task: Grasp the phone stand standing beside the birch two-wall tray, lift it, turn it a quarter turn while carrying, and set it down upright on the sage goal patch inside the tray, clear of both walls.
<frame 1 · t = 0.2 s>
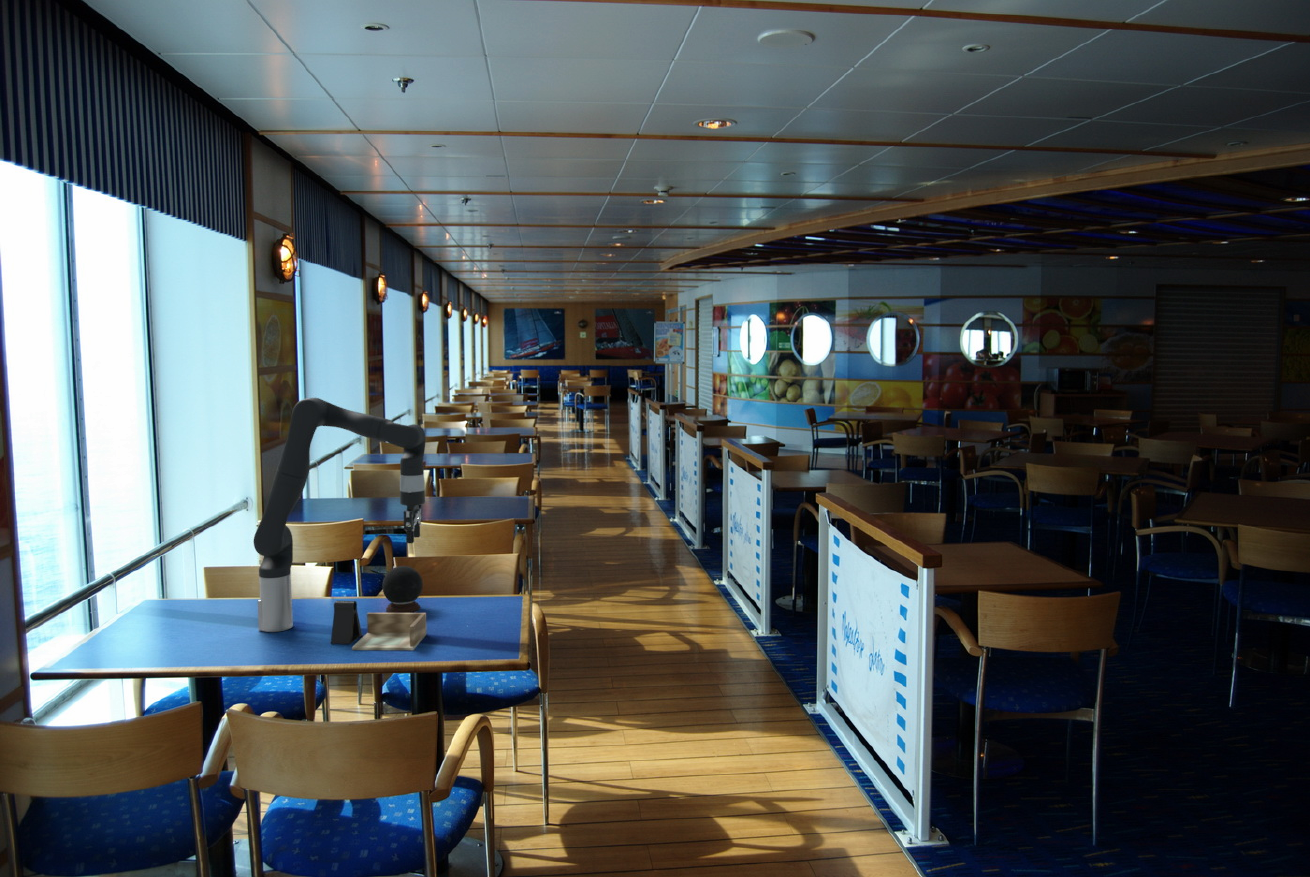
hand: (413, 540, 283), 29 cm above the table, fingers open, 8 cm apart
phone stand: (346, 640, 275), on the table
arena: (390, 641, 273), on the table
stone ball on stand: (403, 610, 307), on the table
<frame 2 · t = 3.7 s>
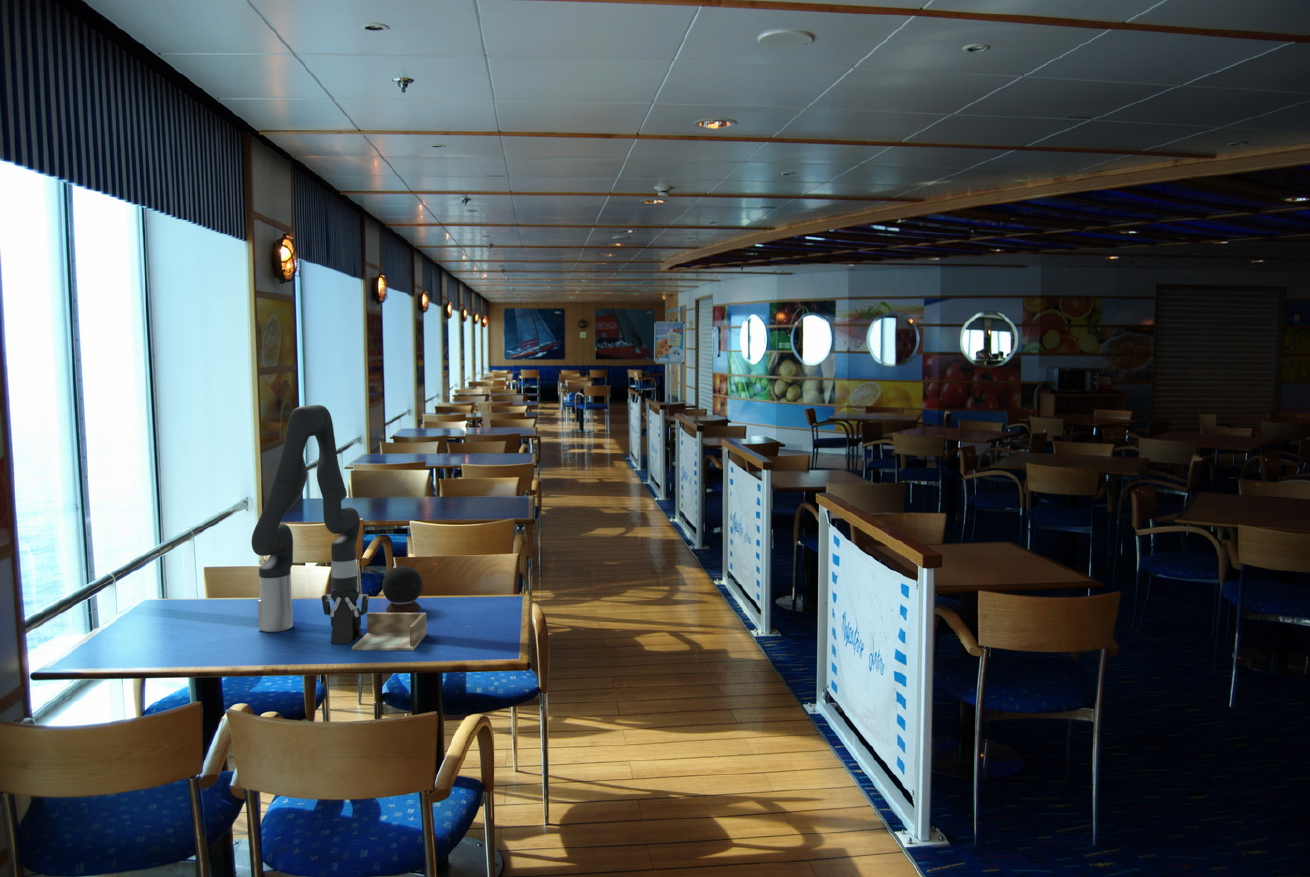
hand: (346, 627, 275), 4 cm above the table, fingers closed on phone stand, 6 cm apart
phone stand: (346, 640, 275), on the table, touching gripper
everything else where it was.
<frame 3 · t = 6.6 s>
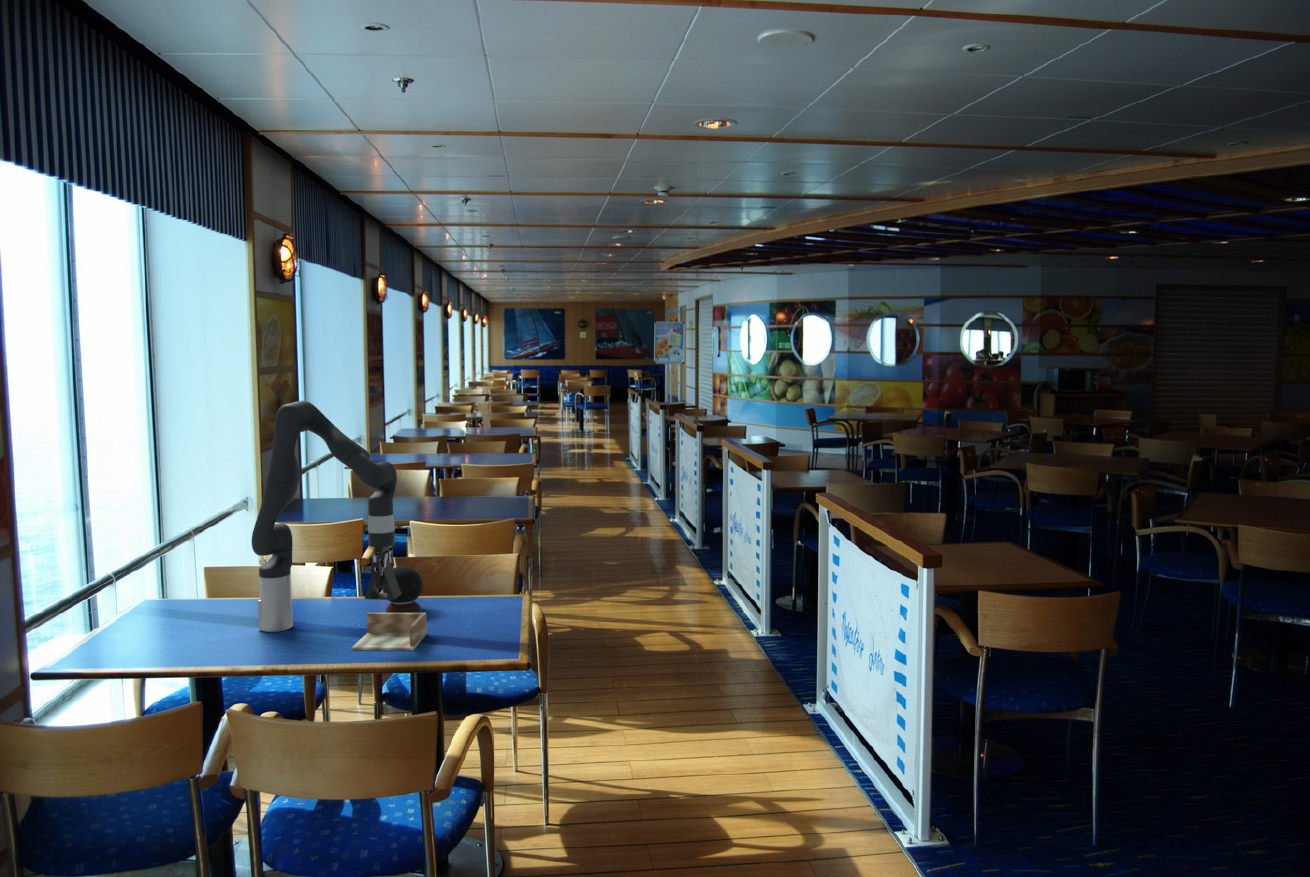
hand: (382, 584, 269), 18 cm above the table, fingers closed on phone stand, 6 cm apart
phone stand: (383, 597, 269), point 14 cm above the table, touching gripper
everything else where it was.
when the fingers open (5 cm above the table, at t = 9.7 s): phone stand stays where it is, resting on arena.
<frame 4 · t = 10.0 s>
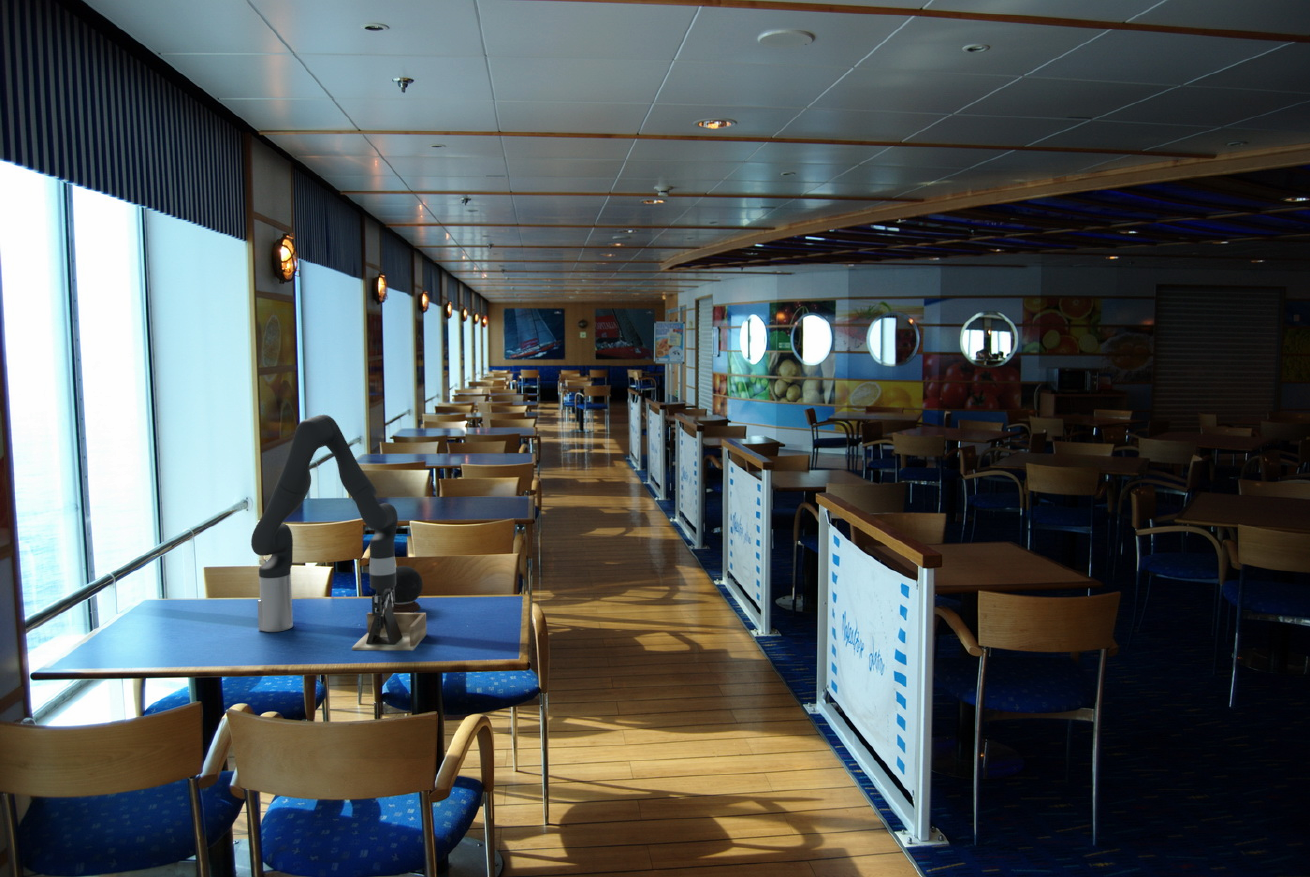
hand: (384, 624, 270), 6 cm above the table, fingers open, 8 cm apart
phone stand: (384, 642, 271), point 1 cm above the table, touching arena
everything else where it was.
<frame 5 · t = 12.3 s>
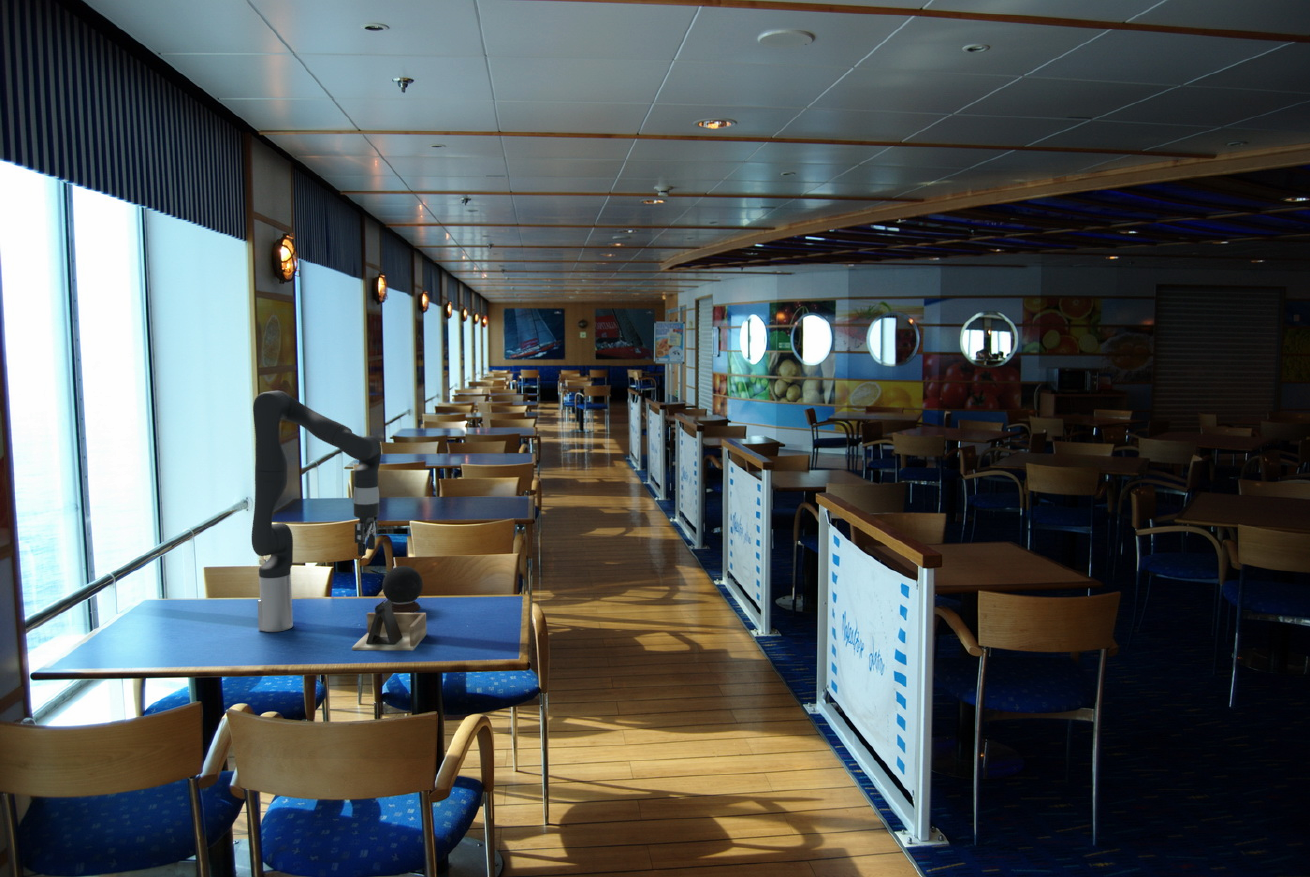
hand: (366, 552, 280), 25 cm above the table, fingers open, 8 cm apart
nothing on the table moved.
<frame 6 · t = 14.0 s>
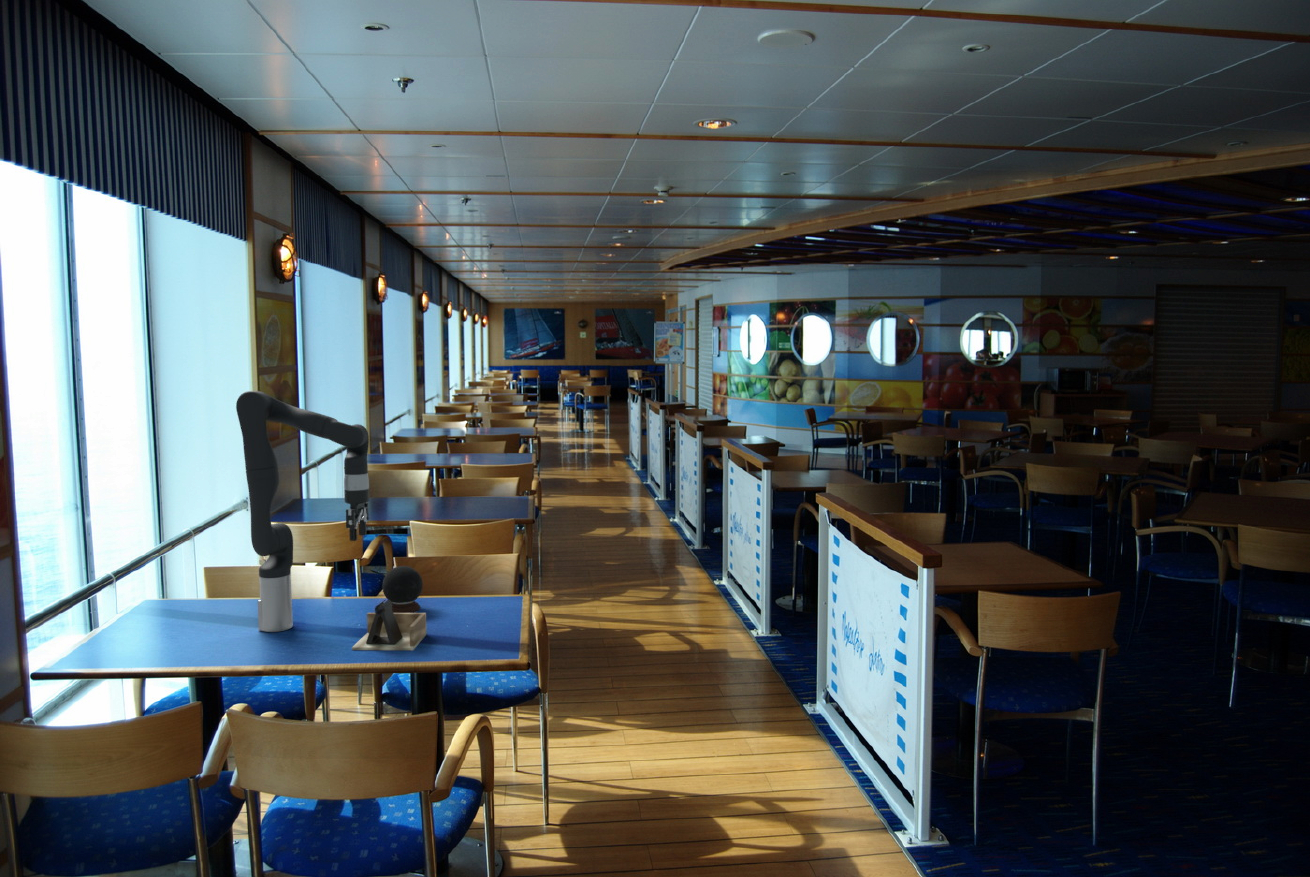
hand: (358, 537, 288), 28 cm above the table, fingers open, 8 cm apart
nothing on the table moved.
at the end: phone stand inside the target area (0.5 cm from its centre), point 0.6 cm above the table; phone stand tilted 0°; the gripper is holding nothing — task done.
